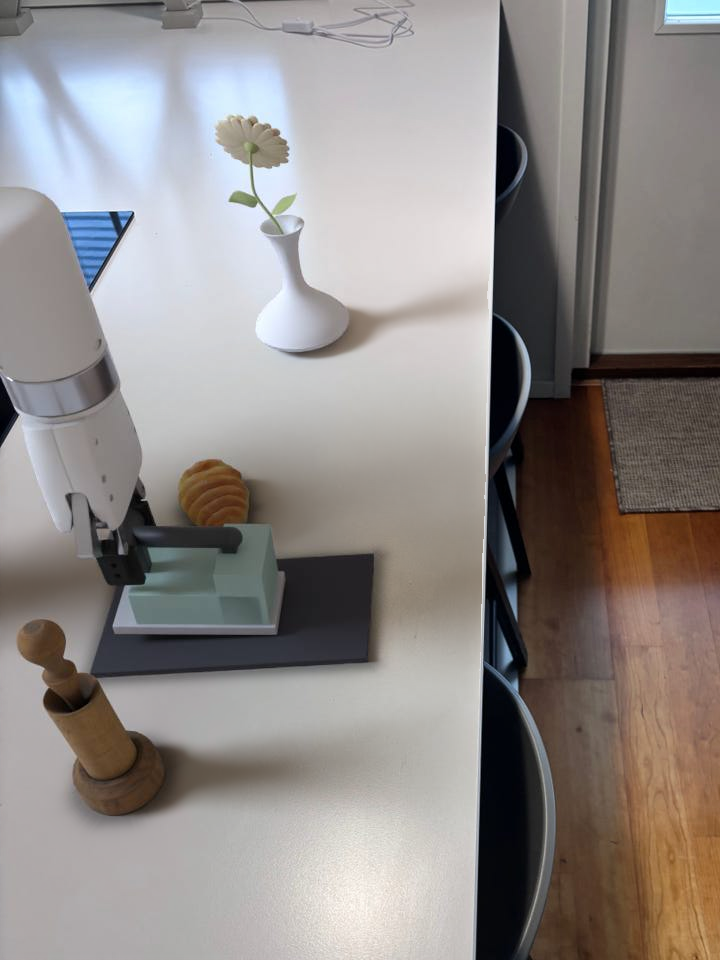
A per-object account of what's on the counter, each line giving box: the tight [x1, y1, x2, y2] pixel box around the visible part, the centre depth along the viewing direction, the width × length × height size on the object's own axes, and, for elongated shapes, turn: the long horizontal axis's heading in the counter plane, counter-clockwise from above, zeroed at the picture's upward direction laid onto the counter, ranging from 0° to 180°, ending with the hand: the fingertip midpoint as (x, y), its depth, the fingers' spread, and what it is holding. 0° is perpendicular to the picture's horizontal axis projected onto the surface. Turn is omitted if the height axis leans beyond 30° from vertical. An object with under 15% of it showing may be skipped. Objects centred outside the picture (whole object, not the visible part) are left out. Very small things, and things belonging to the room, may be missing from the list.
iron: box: [107, 508, 285, 635], centre depth 84 cm, size 14×7×10 cm, turn 91°
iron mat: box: [89, 552, 375, 678], centre depth 89 cm, size 24×13×1 cm, turn 92°
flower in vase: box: [213, 113, 351, 353], centre depth 111 cm, size 13×11×25 cm
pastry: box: [177, 458, 250, 527], centre depth 97 cm, size 9×7×4 cm
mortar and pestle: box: [15, 618, 165, 816], centre depth 71 cm, size 7×6×18 cm
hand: (133, 558), depth 83 cm, fingers closed on iron, 4 cm apart
